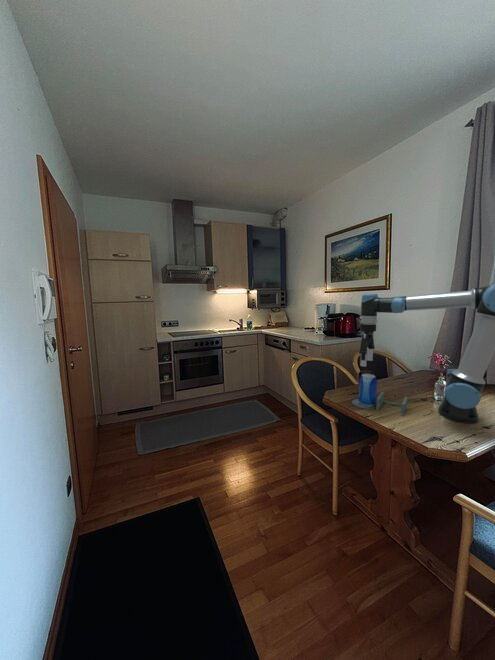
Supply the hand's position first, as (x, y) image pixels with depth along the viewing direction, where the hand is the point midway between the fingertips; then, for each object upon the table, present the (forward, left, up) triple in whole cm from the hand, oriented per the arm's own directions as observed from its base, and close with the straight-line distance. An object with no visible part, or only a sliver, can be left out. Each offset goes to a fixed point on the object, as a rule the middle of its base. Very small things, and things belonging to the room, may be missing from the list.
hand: (366, 363), depth 137 cm
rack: (-13, -3, -23) cm, 27 cm away
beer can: (-1, 0, -23) cm, 23 cm away
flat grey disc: (0, 0, -23) cm, 23 cm away
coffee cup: (+4, -19, -23) cm, 30 cm away
